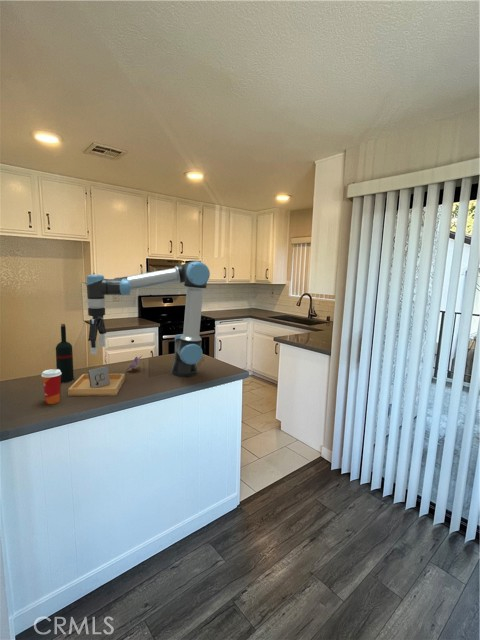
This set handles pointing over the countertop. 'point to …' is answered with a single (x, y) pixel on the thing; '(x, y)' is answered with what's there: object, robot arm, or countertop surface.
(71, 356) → the wine bottle
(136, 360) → the lily
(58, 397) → the paper cup
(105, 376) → the electrical switch
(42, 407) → the countertop surface
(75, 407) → the countertop surface
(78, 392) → the wooden tray
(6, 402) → the countertop surface
